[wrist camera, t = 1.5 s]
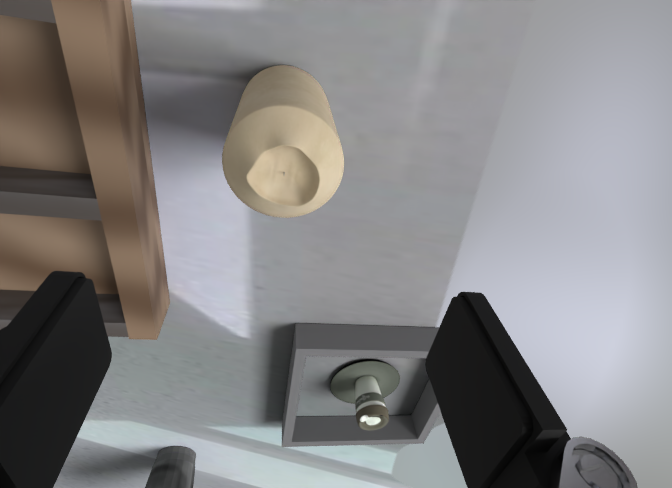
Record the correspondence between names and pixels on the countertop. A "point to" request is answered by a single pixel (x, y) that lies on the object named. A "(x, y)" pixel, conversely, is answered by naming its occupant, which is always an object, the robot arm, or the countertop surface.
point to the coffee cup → (367, 390)
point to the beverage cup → (173, 468)
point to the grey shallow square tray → (356, 344)
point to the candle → (283, 145)
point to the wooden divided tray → (78, 161)
